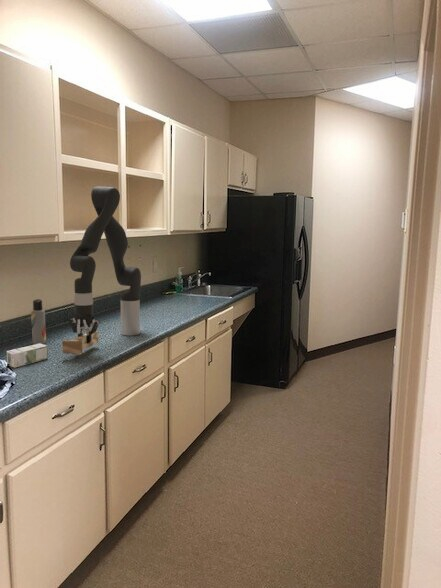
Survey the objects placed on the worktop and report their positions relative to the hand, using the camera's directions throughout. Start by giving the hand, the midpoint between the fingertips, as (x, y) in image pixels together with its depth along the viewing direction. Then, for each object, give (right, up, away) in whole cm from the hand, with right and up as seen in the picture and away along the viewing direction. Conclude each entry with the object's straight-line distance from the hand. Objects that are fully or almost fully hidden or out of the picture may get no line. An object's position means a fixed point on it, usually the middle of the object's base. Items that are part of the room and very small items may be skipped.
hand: (84, 342), depth 194 cm
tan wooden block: (0, -2, 0) cm, 2 cm away
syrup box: (-14, -3, -7) cm, 16 cm away
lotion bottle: (-25, -2, +14) cm, 28 cm away
